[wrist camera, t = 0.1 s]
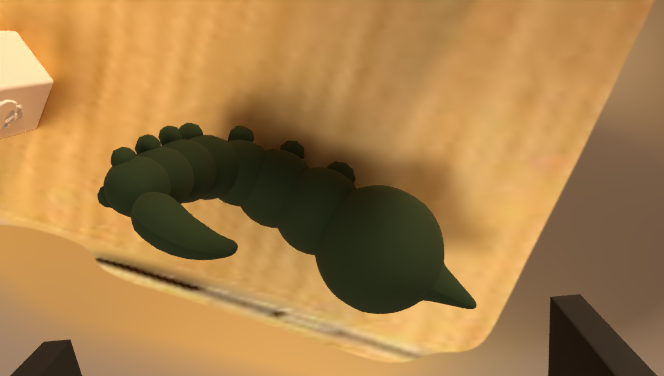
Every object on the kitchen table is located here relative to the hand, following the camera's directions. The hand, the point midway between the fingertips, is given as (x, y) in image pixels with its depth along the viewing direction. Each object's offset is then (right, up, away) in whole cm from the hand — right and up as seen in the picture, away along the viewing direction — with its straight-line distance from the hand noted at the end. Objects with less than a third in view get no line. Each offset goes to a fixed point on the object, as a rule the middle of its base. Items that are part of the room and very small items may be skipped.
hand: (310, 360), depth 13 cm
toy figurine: (0, +4, +28) cm, 29 cm away
